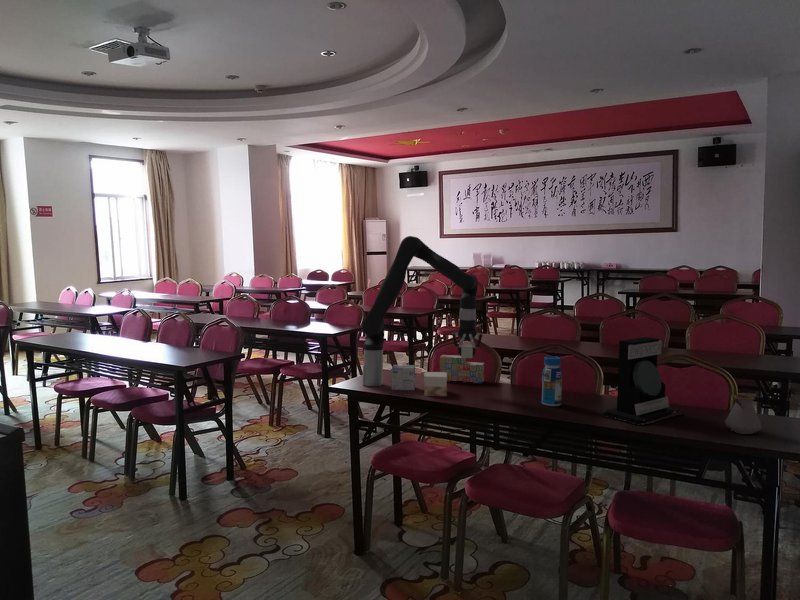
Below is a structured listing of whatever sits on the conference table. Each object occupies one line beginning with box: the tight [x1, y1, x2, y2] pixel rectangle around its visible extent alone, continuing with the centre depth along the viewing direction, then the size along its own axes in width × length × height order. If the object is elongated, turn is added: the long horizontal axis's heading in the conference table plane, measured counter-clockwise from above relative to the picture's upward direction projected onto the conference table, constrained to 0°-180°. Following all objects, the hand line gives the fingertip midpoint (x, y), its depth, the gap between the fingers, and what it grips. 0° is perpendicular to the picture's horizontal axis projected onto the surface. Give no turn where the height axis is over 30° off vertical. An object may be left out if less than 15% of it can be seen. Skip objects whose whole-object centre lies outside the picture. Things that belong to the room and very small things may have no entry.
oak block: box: [423, 386, 448, 397], centre depth 273 cm, size 10×10×4 cm
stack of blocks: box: [439, 354, 485, 384], centre depth 298 cm, size 21×6×12 cm, turn 74°
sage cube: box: [461, 344, 474, 359], centre depth 273 cm, size 5×5×5 cm
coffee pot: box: [724, 394, 762, 433], centre depth 213 cm, size 21×12×15 cm, turn 140°
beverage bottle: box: [541, 355, 563, 407], centre depth 254 cm, size 8×8×20 cm
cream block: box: [423, 371, 448, 388], centre depth 273 cm, size 10×10×4 cm
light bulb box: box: [391, 364, 416, 391], centre depth 281 cm, size 11×7×11 cm, turn 84°
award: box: [601, 336, 680, 424], centre depth 238 cm, size 30×19×30 cm, turn 126°
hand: (466, 355), depth 274 cm, fingers closed on sage cube, 5 cm apart
